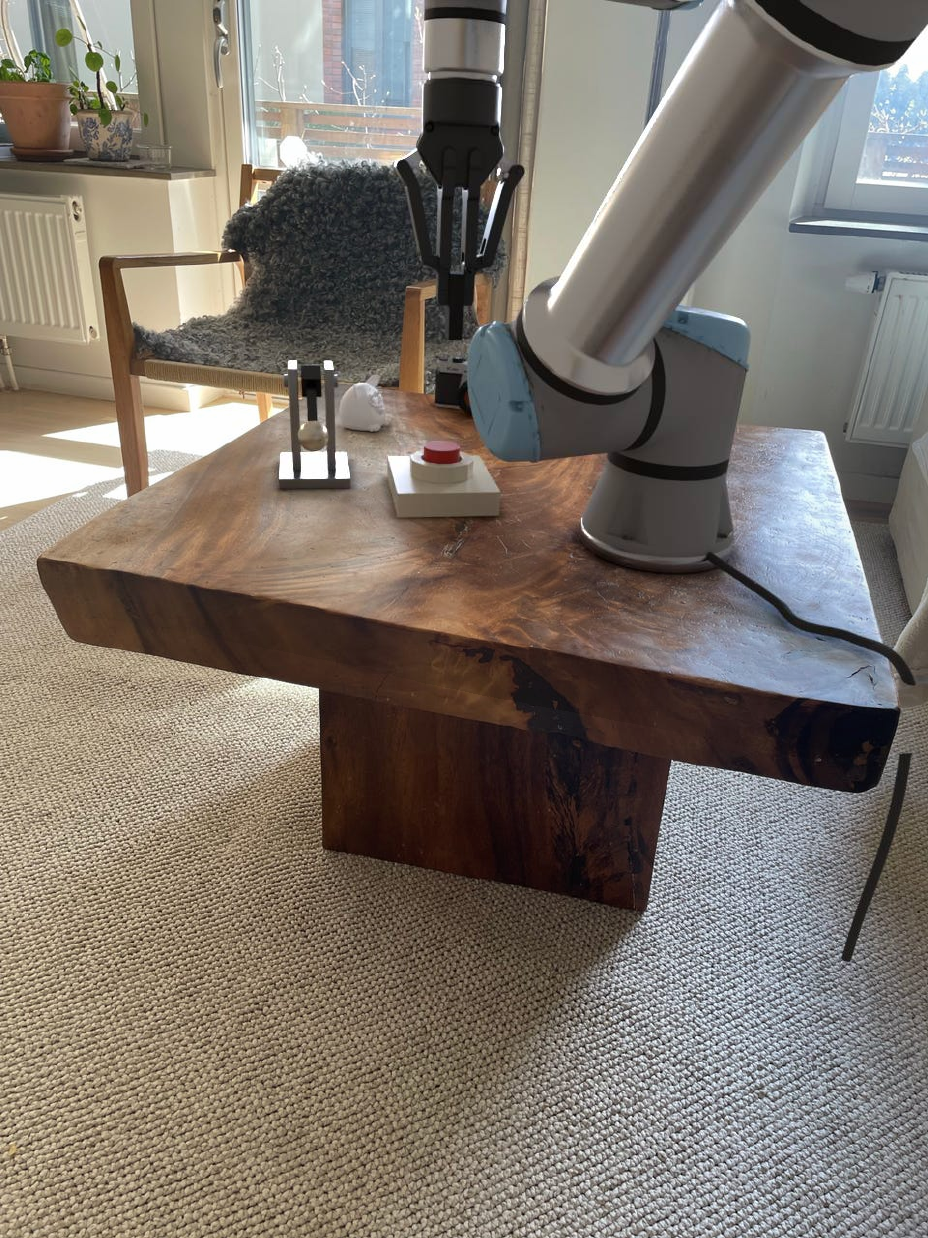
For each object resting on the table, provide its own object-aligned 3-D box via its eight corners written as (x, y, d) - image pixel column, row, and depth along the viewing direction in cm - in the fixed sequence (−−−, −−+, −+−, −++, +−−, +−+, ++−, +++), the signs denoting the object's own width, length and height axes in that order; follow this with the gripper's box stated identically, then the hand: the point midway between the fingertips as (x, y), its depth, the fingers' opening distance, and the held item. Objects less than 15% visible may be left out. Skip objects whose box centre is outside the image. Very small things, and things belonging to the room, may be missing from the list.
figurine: (372, 436, 120) (372, 387, 117) (329, 429, 122) (328, 381, 119) (395, 421, 127) (395, 375, 124) (354, 416, 129) (354, 370, 126)
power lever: (329, 457, 94) (328, 433, 92) (298, 457, 94) (297, 433, 91) (325, 385, 103) (324, 361, 100) (297, 385, 102) (296, 361, 100)
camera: (424, 414, 132) (430, 352, 128) (434, 400, 139) (440, 342, 134) (510, 428, 131) (519, 366, 126) (516, 414, 138) (524, 355, 133)
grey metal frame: (350, 488, 102) (348, 375, 96) (279, 489, 100) (272, 374, 94) (346, 461, 110) (344, 355, 104) (281, 461, 109) (275, 355, 103)
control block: (499, 515, 96) (501, 475, 94) (397, 517, 94) (397, 476, 92) (478, 476, 107) (480, 440, 105) (387, 477, 105) (387, 440, 103)
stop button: (462, 466, 97) (462, 450, 96) (425, 466, 97) (426, 451, 96) (456, 455, 101) (457, 440, 100) (421, 455, 100) (422, 440, 99)
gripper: (520, 85, 88) (505, 332, 99) (389, 77, 86) (388, 330, 96) (539, 80, 81) (521, 345, 92) (397, 71, 79) (396, 344, 90)
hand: (453, 337), depth 94 cm, fingers closed
